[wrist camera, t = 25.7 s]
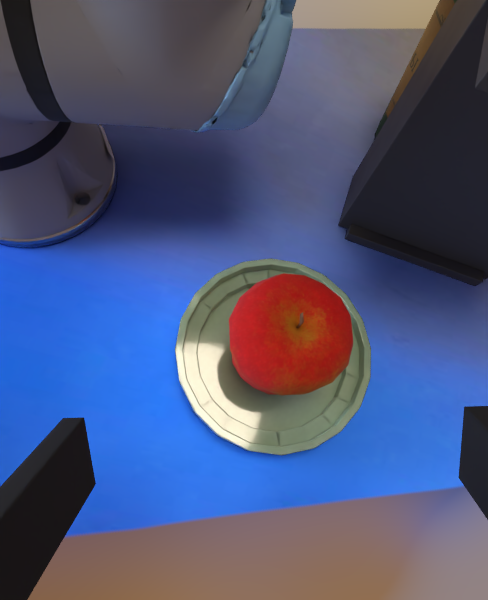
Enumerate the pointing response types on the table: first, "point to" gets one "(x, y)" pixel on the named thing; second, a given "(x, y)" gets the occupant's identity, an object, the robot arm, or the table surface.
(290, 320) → the apple
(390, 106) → the bottle
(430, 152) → the coffee maker
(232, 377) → the dish
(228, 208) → the table surface
